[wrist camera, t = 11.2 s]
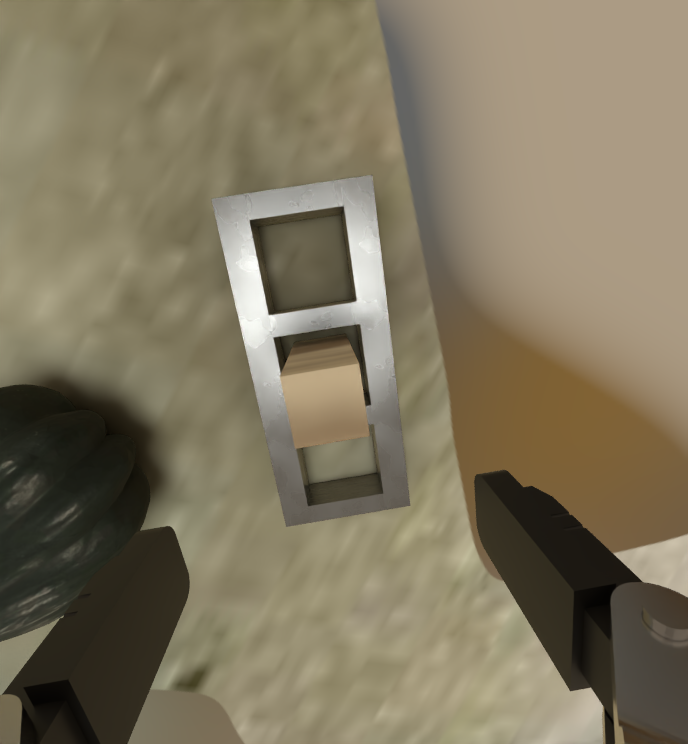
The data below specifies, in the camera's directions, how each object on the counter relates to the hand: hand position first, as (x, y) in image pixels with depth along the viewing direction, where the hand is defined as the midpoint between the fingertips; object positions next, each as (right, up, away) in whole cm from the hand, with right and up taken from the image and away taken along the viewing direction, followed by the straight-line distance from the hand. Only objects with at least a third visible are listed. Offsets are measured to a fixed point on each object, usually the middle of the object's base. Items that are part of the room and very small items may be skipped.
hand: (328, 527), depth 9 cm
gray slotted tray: (-1, +5, +18) cm, 19 cm away
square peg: (-1, +5, +18) cm, 19 cm away
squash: (-21, -3, +19) cm, 29 cm away
